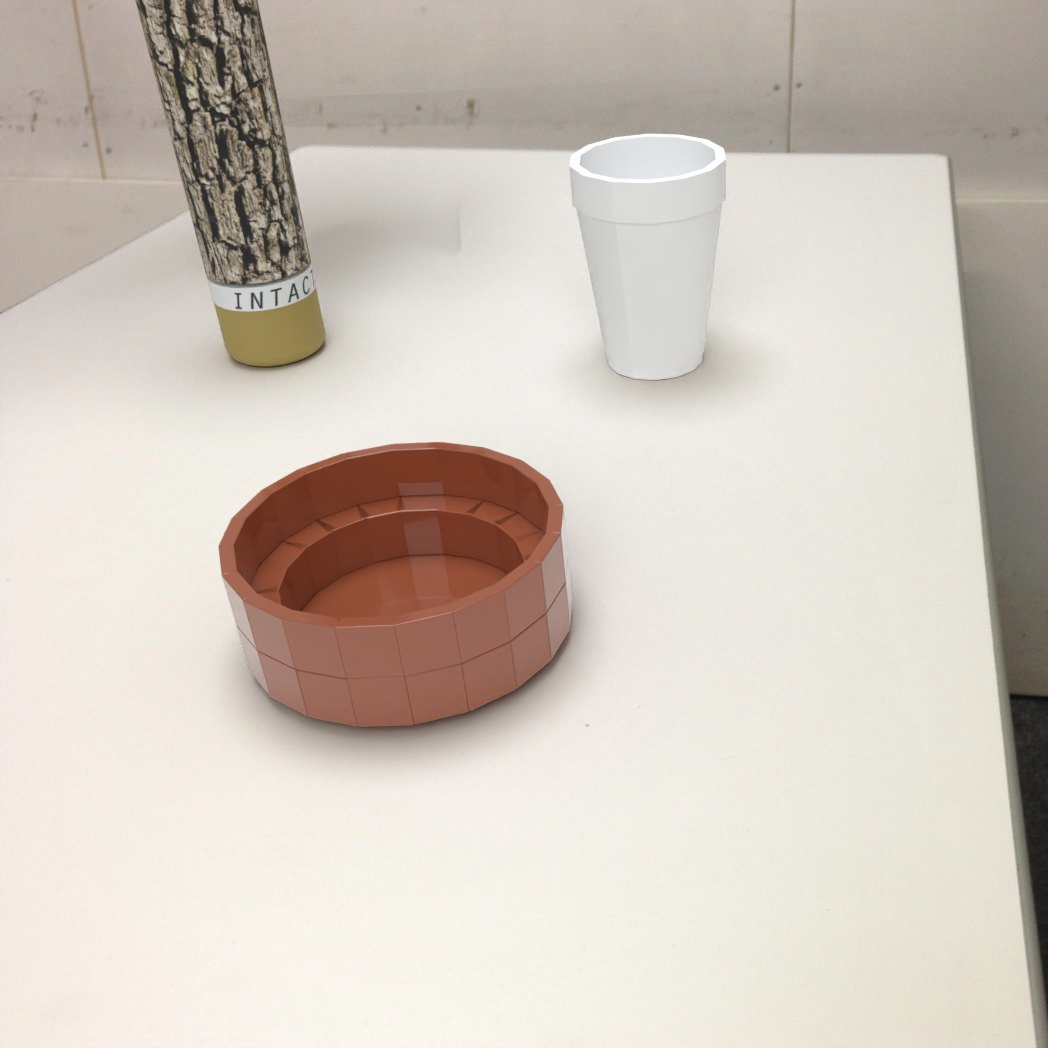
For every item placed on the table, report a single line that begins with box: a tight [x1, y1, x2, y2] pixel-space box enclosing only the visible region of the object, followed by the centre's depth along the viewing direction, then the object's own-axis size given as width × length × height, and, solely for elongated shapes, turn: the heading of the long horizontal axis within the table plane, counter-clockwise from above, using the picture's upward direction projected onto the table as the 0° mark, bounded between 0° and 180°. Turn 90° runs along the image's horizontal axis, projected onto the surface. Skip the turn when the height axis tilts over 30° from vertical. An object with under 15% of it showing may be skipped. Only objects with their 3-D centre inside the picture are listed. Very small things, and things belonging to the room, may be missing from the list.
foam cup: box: [568, 133, 727, 381], centre depth 80 cm, size 10×9×13 cm
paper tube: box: [134, 0, 326, 367], centre depth 81 cm, size 7×7×25 cm
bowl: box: [217, 441, 573, 728], centre depth 60 cm, size 15×15×6 cm
